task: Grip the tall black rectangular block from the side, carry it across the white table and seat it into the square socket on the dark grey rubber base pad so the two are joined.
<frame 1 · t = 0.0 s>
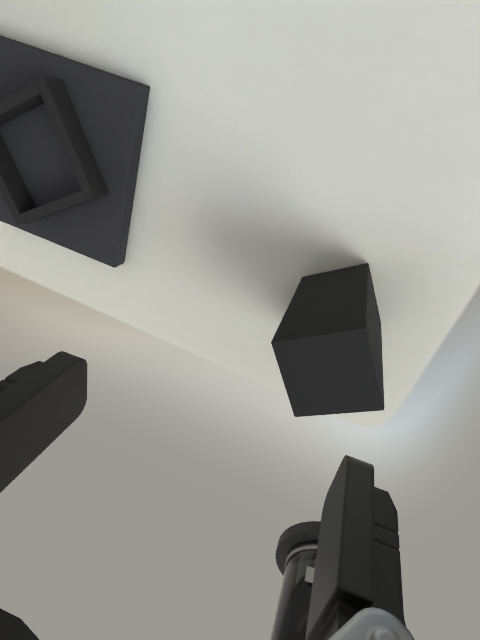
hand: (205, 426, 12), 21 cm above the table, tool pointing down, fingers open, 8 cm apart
base pad: (60, 155, 33), on the table
tall black rectangular block: (341, 300, 31), on the table
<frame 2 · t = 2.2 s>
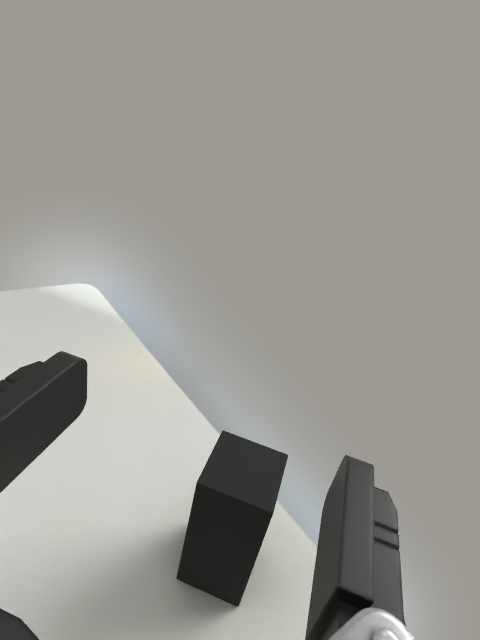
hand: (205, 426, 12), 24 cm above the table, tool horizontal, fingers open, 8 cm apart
tall black rectangular block: (218, 561, 32), on the table
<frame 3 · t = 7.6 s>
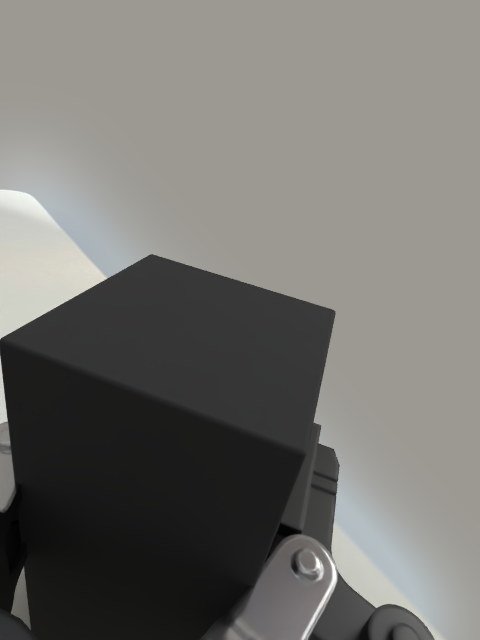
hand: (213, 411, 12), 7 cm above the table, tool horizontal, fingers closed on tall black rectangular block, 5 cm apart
tall black rectangular block: (153, 607, 13), on the table, touching gripper
when the fingers open (8 cm above the table, at t = 16.4 s): tall black rectangular block stays where it is, resting on base pad.
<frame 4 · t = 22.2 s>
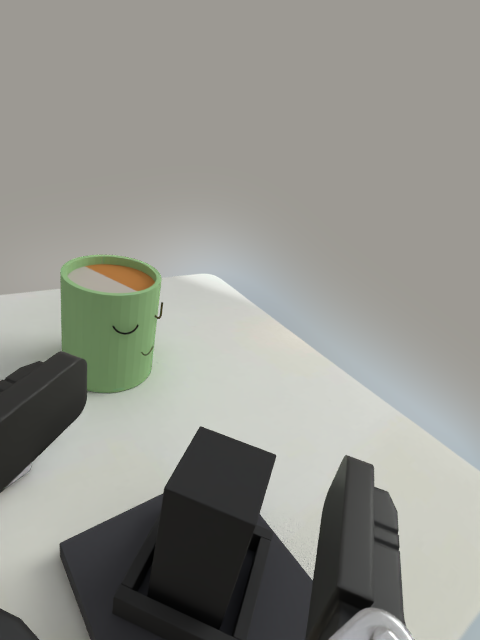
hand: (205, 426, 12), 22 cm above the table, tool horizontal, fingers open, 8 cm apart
base pad: (194, 588, 28), on the table
mug: (117, 362, 49), on the table
tall black rectangular block: (196, 578, 27), point 1 cm above the table, touching base pad
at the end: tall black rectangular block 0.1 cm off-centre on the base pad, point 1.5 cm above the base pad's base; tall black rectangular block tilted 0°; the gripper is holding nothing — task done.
